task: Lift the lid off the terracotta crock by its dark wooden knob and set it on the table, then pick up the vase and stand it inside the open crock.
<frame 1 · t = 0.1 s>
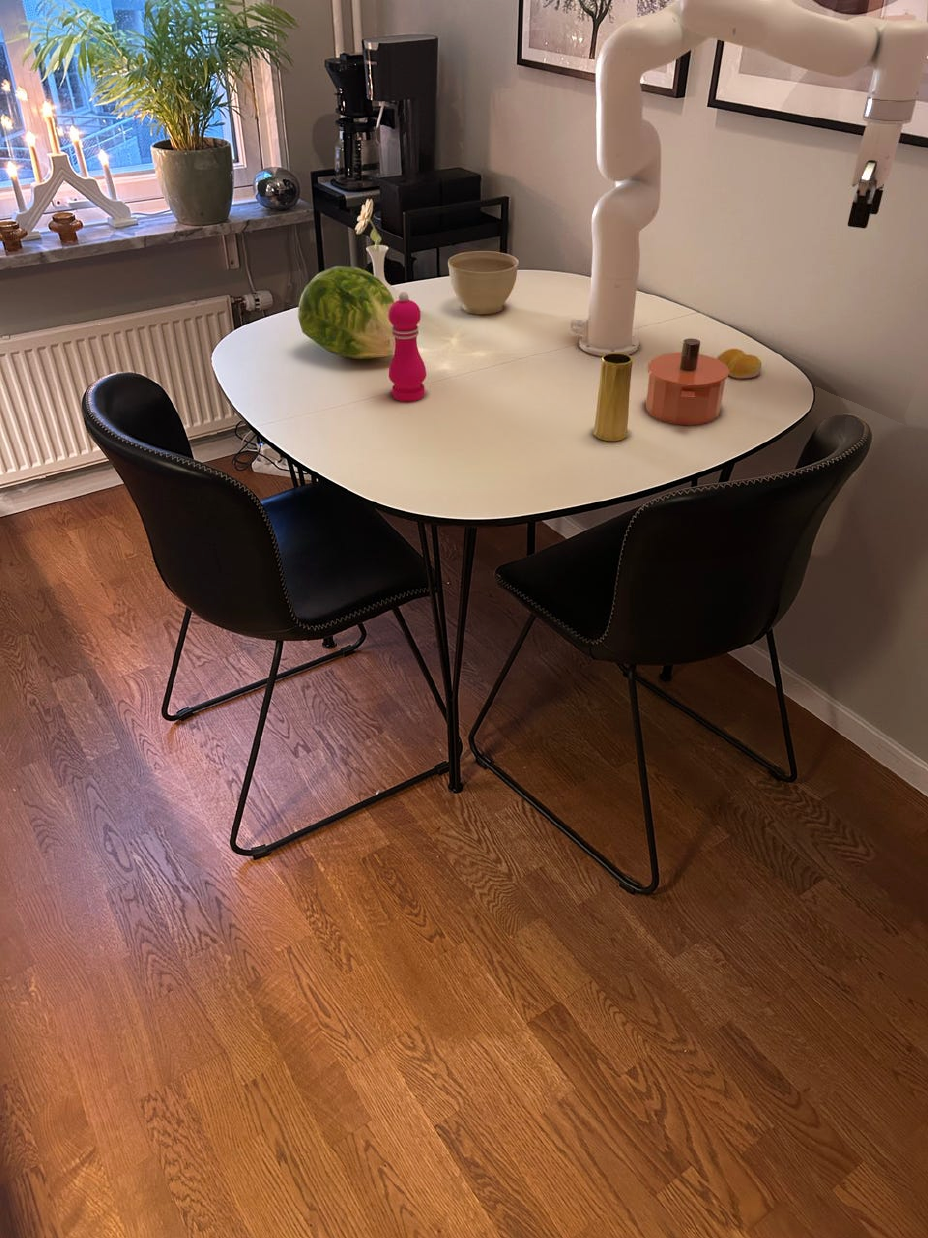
hand: (862, 219, 163), 31 cm above the table, tool pointing down, fingers open, 9 cm apart
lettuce: (357, 353, 199), on the table
crock: (682, 408, 175), on the table
bread roll: (736, 371, 189), on the table
planter bowl: (483, 308, 219), on the table
flower in vase: (380, 310, 219), on the table
pepper mill: (408, 395, 182), on the table
crock lid: (687, 370, 171), point 7 cm above the table, touching crock
vase: (610, 434, 168), on the table
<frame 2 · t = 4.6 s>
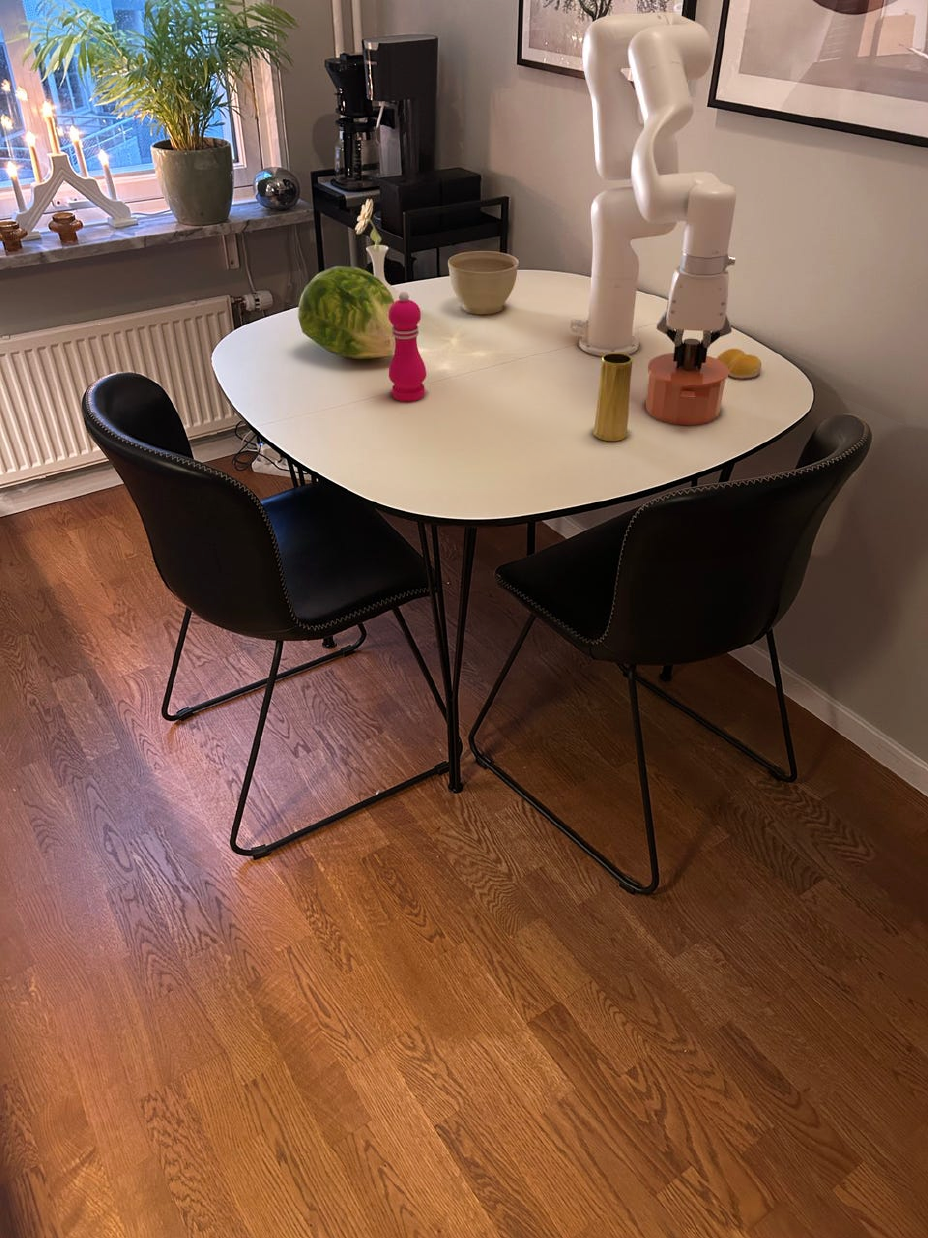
hand: (688, 364, 170), 9 cm above the table, tool pointing down, fingers closed on crock lid, 3 cm apart
crock lid: (687, 370, 171), point 8 cm above the table, touching crock, gripper
everything else where it was.
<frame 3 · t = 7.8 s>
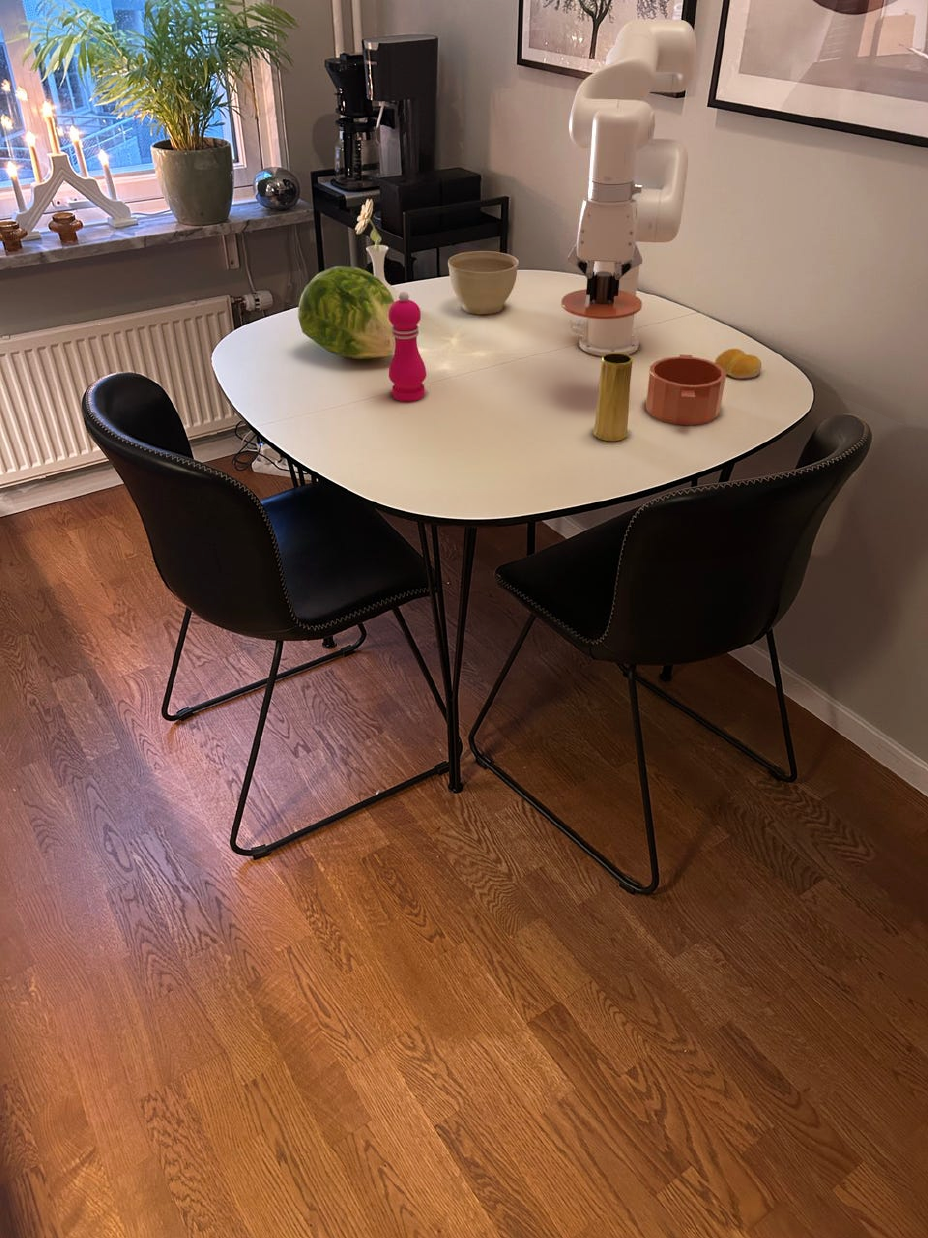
hand: (601, 298, 169), 19 cm above the table, tool pointing down, fingers closed on crock lid, 3 cm apart
crock lid: (601, 304, 170), point 18 cm above the table, touching gripper
everything else where it was.
when the fingers open (2 cm above the table, at t = 11.1 s): crock lid stays where it is, point 1 cm above the table.
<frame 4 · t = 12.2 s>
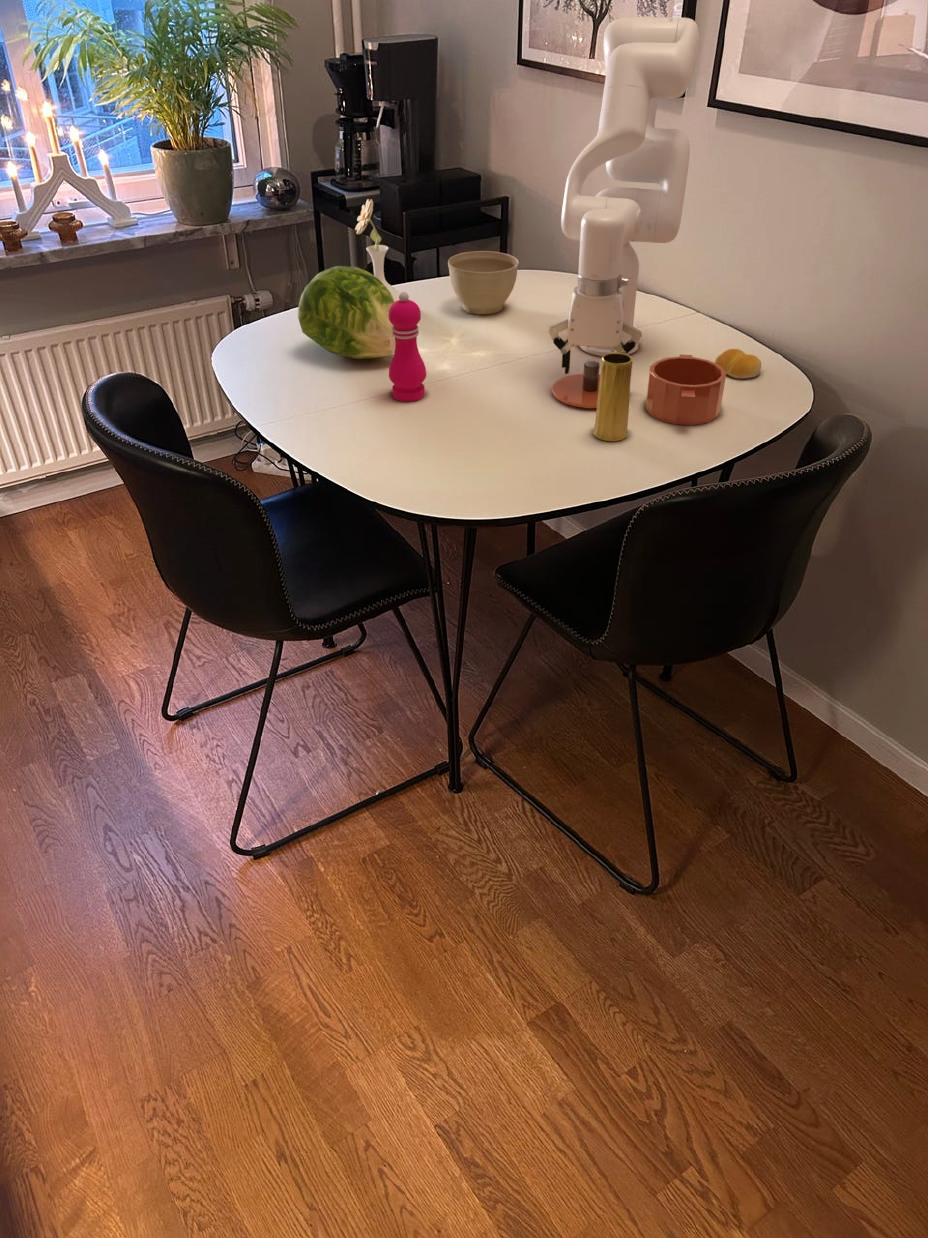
hand: (592, 372, 179), 4 cm above the table, tool pointing down, fingers open, 9 cm apart
crock lid: (589, 391, 180), point 1 cm above the table
everything else where it was.
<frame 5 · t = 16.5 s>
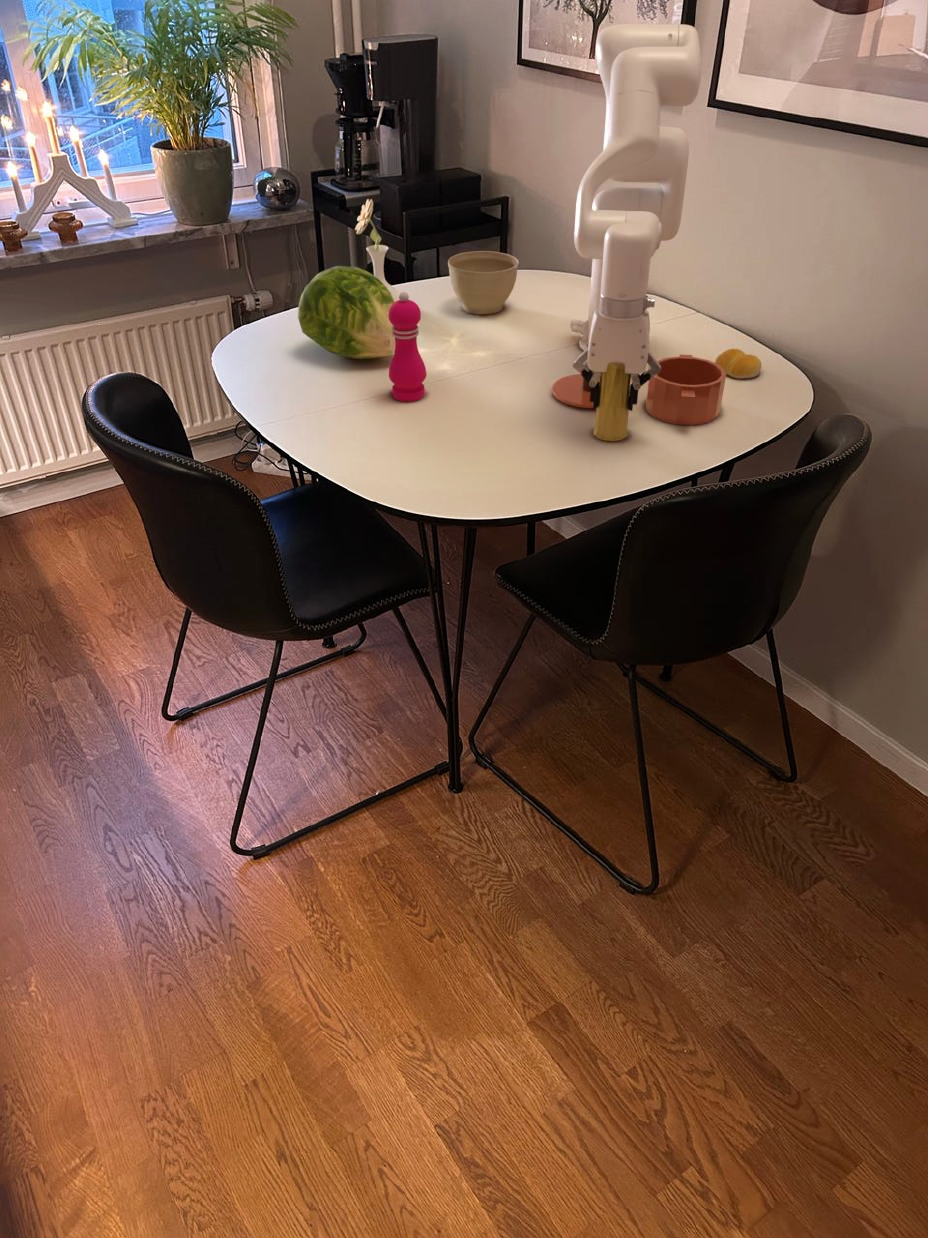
hand: (612, 405, 164), 6 cm above the table, tool pointing down, fingers closed on vase, 5 cm apart
vase: (610, 434, 168), on the table, touching gripper
everything else where it was.
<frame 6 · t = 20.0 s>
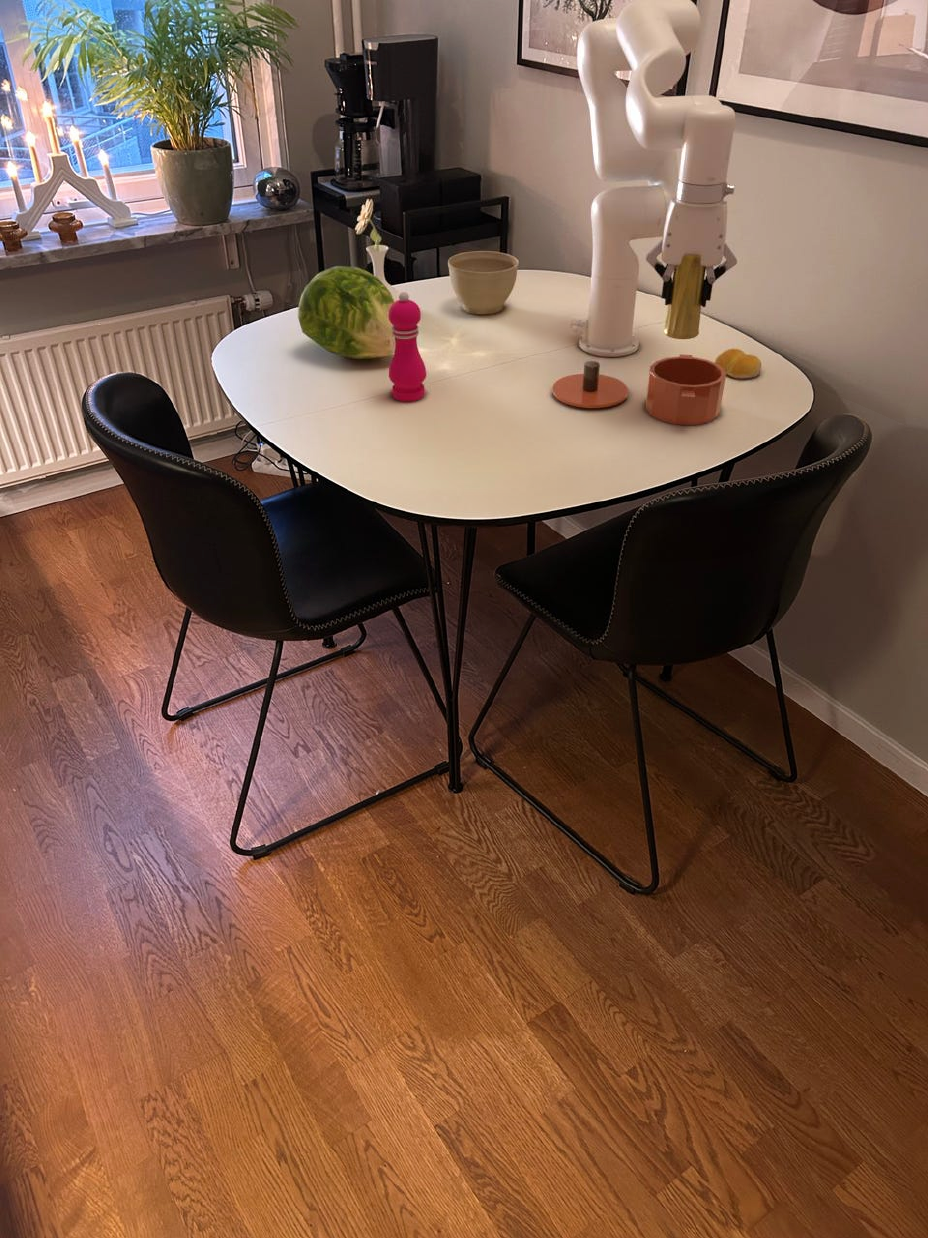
hand: (685, 302, 161), 21 cm above the table, tool pointing down, fingers closed on vase, 5 cm apart
vase: (680, 334, 165), point 15 cm above the table, touching gripper
everything else where it was.
when the fingers open (6 cm above the table, at t = 23.9 s): vase stays where it is, resting on crock.
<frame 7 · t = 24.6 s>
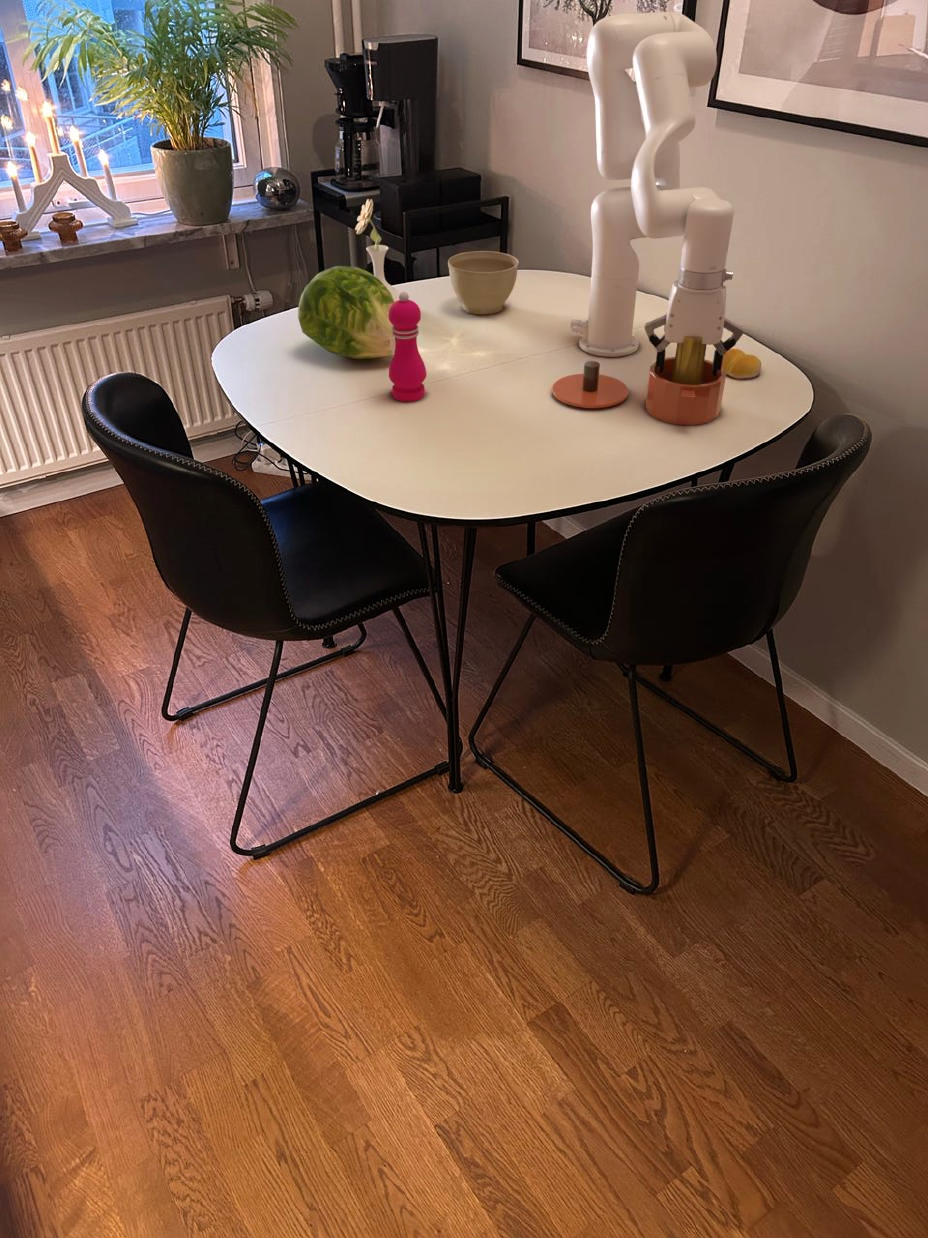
hand: (687, 371, 171), 7 cm above the table, tool pointing down, fingers open, 9 cm apart
vase: (682, 407, 175), resting on crock
everything else where it was.
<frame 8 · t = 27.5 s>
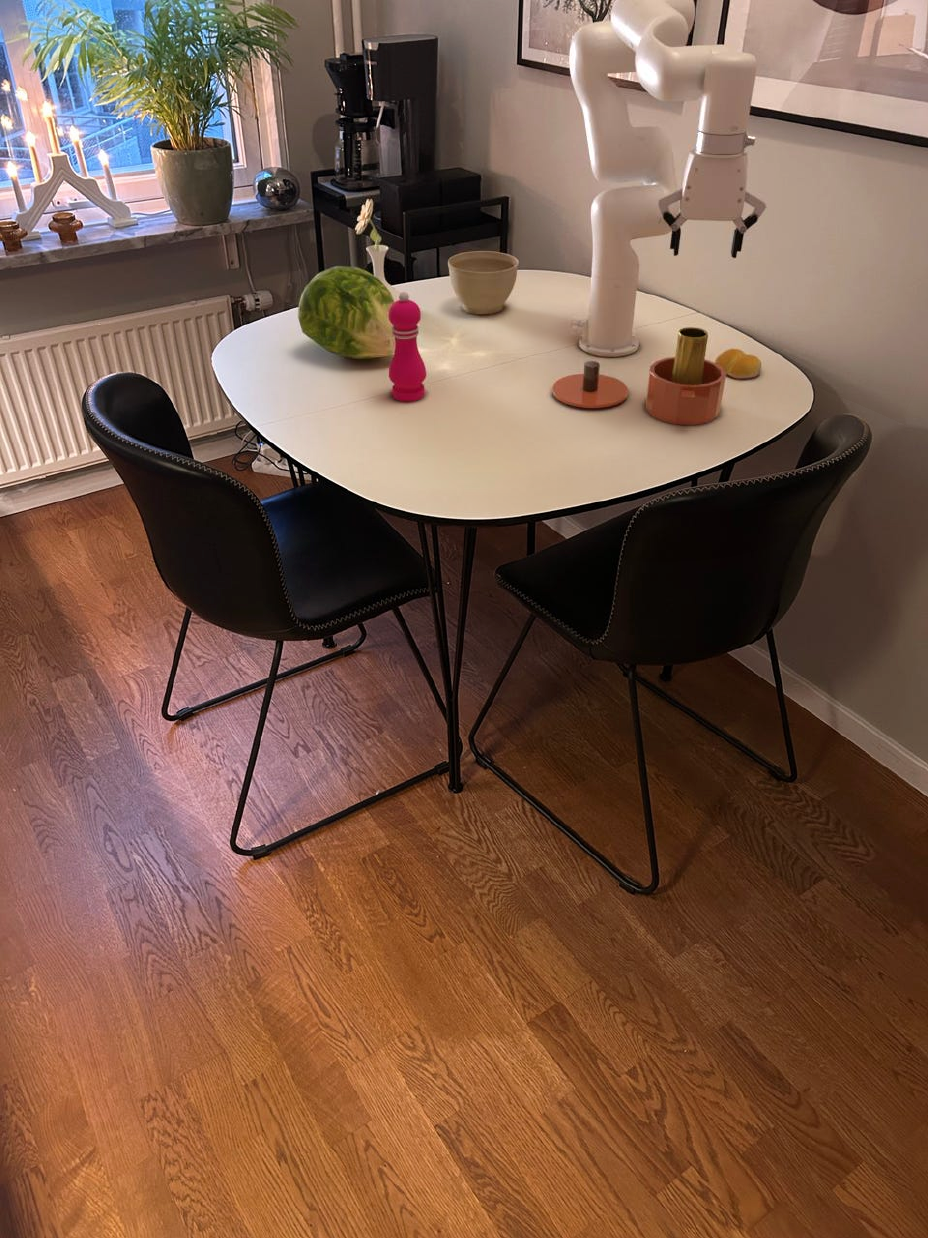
hand: (704, 254, 158), 28 cm above the table, tool pointing down, fingers open, 9 cm apart
nothing on the table moved.
at the end: crock lid inside the target area (0.3 cm from its centre), point 0.6 cm above the table; vase inside the target area in the crock (0.0 cm from its centre), point 0.3 cm above the crock's base; vase tilted 0° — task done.
